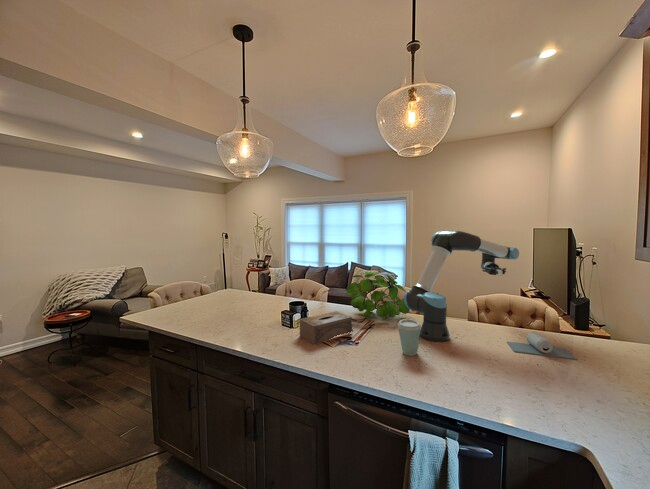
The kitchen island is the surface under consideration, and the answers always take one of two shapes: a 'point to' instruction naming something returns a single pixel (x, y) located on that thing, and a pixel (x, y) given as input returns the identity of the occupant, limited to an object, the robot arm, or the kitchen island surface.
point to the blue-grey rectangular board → (532, 350)
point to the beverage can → (539, 342)
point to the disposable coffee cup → (409, 336)
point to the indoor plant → (376, 296)
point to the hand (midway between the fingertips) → (500, 273)
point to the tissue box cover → (324, 326)
